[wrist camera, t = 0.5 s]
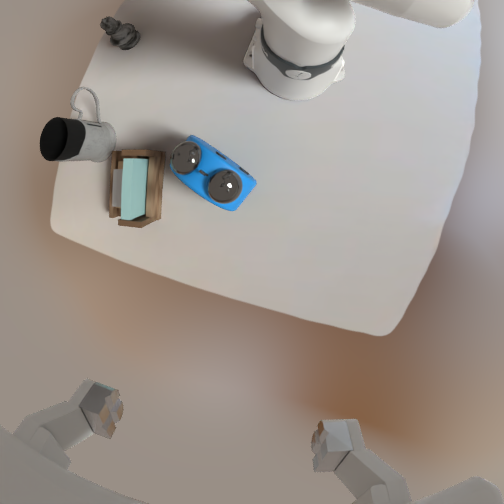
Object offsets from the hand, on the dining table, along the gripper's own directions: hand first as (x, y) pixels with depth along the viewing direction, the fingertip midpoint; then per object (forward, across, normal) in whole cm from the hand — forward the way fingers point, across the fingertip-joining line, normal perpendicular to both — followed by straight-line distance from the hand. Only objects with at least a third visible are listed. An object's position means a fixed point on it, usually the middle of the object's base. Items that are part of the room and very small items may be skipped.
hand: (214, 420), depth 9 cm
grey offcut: (+40, +25, -4) cm, 48 cm away
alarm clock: (+43, +7, -8) cm, 45 cm away
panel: (+42, +21, -4) cm, 47 cm away
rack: (+43, +23, -4) cm, 49 cm away
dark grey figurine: (+44, +31, -37) cm, 65 cm away
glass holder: (+44, +33, -16) cm, 57 cm away
